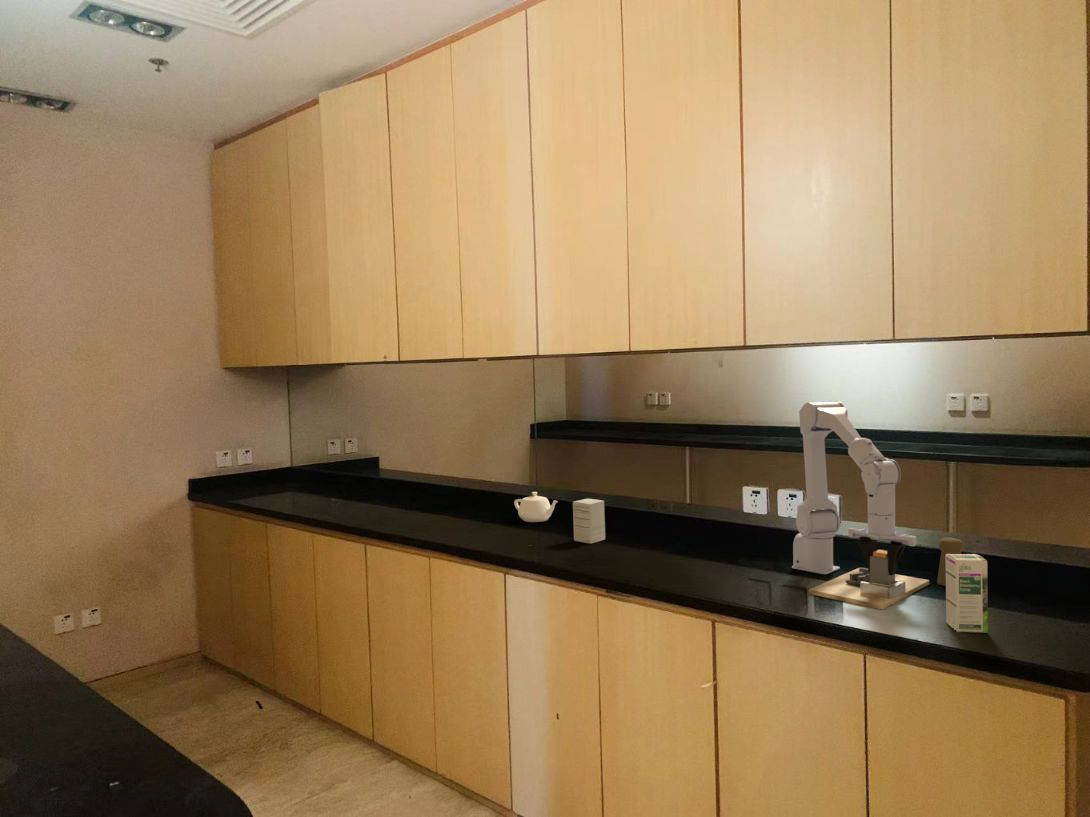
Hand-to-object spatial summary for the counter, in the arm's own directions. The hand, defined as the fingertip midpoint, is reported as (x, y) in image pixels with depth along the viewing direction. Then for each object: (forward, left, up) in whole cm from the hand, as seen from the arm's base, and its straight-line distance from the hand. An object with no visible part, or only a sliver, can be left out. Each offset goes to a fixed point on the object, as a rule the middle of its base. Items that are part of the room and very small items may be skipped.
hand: (881, 572), depth 167 cm
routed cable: (-5, +5, -5) cm, 8 cm away
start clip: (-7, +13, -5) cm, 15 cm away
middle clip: (-7, +4, -5) cm, 9 cm away
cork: (+7, +21, -6) cm, 23 cm away
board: (-5, +4, -6) cm, 8 cm away
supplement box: (-91, -3, -6) cm, 91 cm away
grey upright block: (0, 0, -2) cm, 2 cm away
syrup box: (+20, -9, -6) cm, 23 cm away
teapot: (-129, +8, -6) cm, 129 cm away
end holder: (0, 0, -5) cm, 5 cm away
